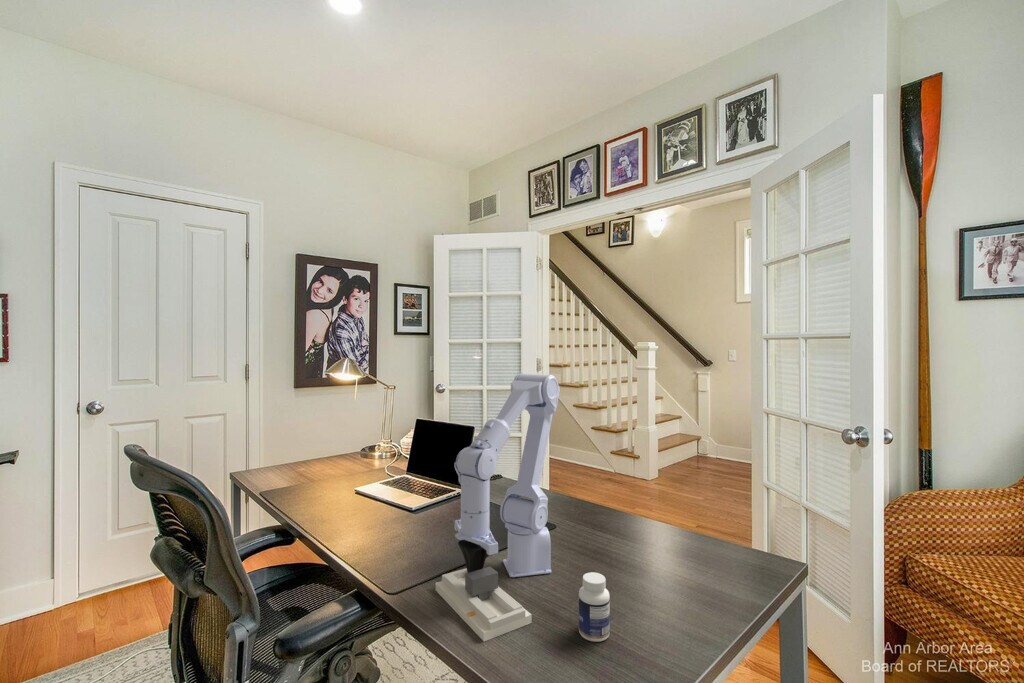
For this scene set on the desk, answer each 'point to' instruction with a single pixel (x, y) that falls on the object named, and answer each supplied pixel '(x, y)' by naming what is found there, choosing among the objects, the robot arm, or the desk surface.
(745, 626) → the desk surface
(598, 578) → the pill bottle
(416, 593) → the desk surface
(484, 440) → the robot arm
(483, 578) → the fader tab
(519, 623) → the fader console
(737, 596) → the desk surface
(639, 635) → the desk surface
